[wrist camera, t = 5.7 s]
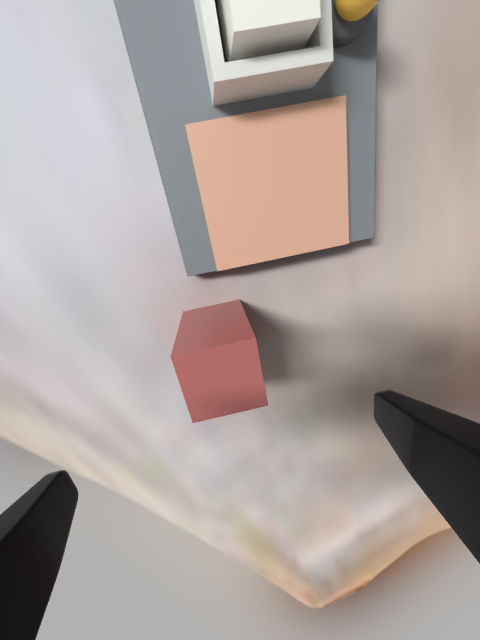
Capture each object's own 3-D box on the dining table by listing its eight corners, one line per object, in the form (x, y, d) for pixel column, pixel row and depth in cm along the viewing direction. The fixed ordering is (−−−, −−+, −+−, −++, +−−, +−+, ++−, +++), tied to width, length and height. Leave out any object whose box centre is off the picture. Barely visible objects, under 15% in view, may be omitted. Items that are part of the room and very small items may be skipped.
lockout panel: (360, -91, 13) (432, -239, 9) (361, 236, 19) (404, 239, 15) (103, -52, 12) (51, -192, 8) (189, 272, 18) (184, 286, 14)
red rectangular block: (239, 299, 19) (255, 337, 13) (249, 349, 21) (268, 405, 14) (183, 311, 19) (170, 356, 13) (197, 360, 21) (192, 423, 14)
